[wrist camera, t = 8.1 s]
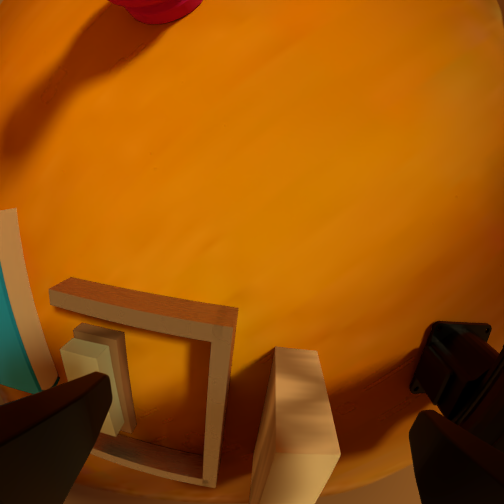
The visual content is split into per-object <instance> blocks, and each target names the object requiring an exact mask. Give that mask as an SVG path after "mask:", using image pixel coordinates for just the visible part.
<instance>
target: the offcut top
mask: <svg viewBox="0 0 504 504" xmlns="http://www.w3.org/2000/svg"><path fill="white" fill-rule="evenodd" d="M60 352H61V357H62V361H63V365H64V369H65V372H66V376H67V380H68V382H69V381H71V380H74V379H77V378H79V377H82V376H84V375H87V374H90V373H92V372H95V371H97V372H101V373H104V374H107V375H108V376H109V377H110V382H111V389H112V396H113V400H112V404H111V407H110V409H109V411H108V414H107V416H106V419H105V421H104V424H103V426H102V429H101V431H100V432H102V433H105V434H108V435H112V436H115V437H116V436H117V434H118V433H119V431H120V429H121V427H122V426H123V424H124V419H123V415H122V410H121V406H120V402H119V397H118V393H117V388H116V383H115V378H114V373H113V368H112V363H111V357H110V351H109V346H107V345H102V344H98V343H93V342H89V341H84V340H80V339H76V338H72V339H71V340H70V341H69V342H68V343H66V344H65V345H64V346H63V347H62V348H61V349H60Z"/></svg>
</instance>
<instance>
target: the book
mask: <svg viewBox="0 0 504 504" xmlns="http://www.w3.org/2000/svg"><path fill="white" fill-rule="evenodd" d="M59 378H60V377H58V373H57V370H56V368H55V365H54V363H53V360H52V357H51V354H50V352H49V349H48V346H47V343H46V340H45V337H44V334H43V331H42V328H41V325H40V321H39V318H38V315H37V311H36V308H35V304H34V300H33V296H32V292H31V288H30V284H29V280H28V276H27V271H26V266H25V261H24V256H23V251H22V245H21V239H20V233H19V226H18V218H17V210H16V208H13V209H7V210H1V211H0V384H2V385H5V386H8V387H11V388H14V389H18V390H21V391H25V392H28V393H32V394H36V393H38V392H41V391H44V390H47V389H50V388H52V387H55V386H56V385H57V384H58V381H59Z"/></svg>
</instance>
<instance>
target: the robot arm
mask: <svg viewBox="0 0 504 504" xmlns="http://www.w3.org/2000/svg"><path fill="white" fill-rule="evenodd" d="M439 326H440V328H439V329H438V330H437V328H438V327H439ZM486 329H487V330H486ZM491 329H492V328H491V326H490V325H489V324H487V323H467V322H448V321H437V322H435V323H434V324H433V326H432V329H431V332H430V335H429V338H428V341H427V344H426V347H425V349H424V351H423V353H422V356H421V359H420V361H419V364H418V366H417V369H416V371H415V374H414V377H413V380H412V382H411V384H410V387H409V389H410V391H411V393H413V394H418V393H426V394H427V395H428V397H429V399H430V400H431V402H432V403H433V405H437V406H438V408H439V409H440V411H441V412H442V414H443V416H442V415H440V414H439V413H437V412H436V411H434V410H423V411H421V412H420V413H419V414H418V416H417V418H416V420H415V421H414V423H413V425H412V427H411V429H410V431H409V441H410V447H411V453H412V460H413V467H414V473H415V478H416V483H417V486H418V490H419V495H420V499H421V503H422V504H504V345H503V349H502V350H501V352H500V354H499V353H498V352H497V351H496V350H495V349H494V348H492V347H491V346H490V345H489V344H488V343H487V340H488V338H489V335H490V332H491ZM415 387H416V388H415ZM112 400H113V396H112V389H111V382H110V377H109V376H108V375H107V374H104V373H101V372H97V371H95V372H92V373H90V374H87V375H84V376H82V377H79V378H77V379H74V380H71V381H69V382H66V383H63V384H60V385H58V386H55V387H52V388H50V389H47V390H44V391H41V392H38V393H36V394H33V395H30V396H27V397H24V398H21V399H18V400H15V401H12V402H9V403H6V404H4V405H0V504H63V502H64V501H65V499H66V497H67V495H68V493H69V491H70V489H71V487H72V486H73V484H74V482H75V480H76V478H77V476H78V474H79V473H80V471H81V469H82V467H83V465H84V463H85V462H86V460H87V458H88V456H89V454H90V452H91V451H92V449H93V447H94V445H95V443H96V441H97V438H98V436H99V434H100V431H101V429H102V426H103V424H104V421H105V419H106V416H107V414H108V411H109V409H110V407H111V404H112Z"/></svg>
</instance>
